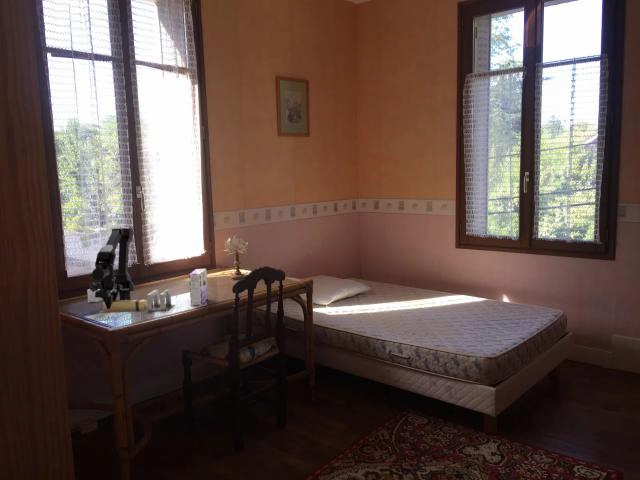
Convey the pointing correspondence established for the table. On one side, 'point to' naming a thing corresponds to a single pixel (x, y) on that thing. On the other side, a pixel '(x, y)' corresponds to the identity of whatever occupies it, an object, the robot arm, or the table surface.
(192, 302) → the candy box
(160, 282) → the table surface
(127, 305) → the brass tube
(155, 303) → the grey slotted rack
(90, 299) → the skincare box
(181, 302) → the table surface
